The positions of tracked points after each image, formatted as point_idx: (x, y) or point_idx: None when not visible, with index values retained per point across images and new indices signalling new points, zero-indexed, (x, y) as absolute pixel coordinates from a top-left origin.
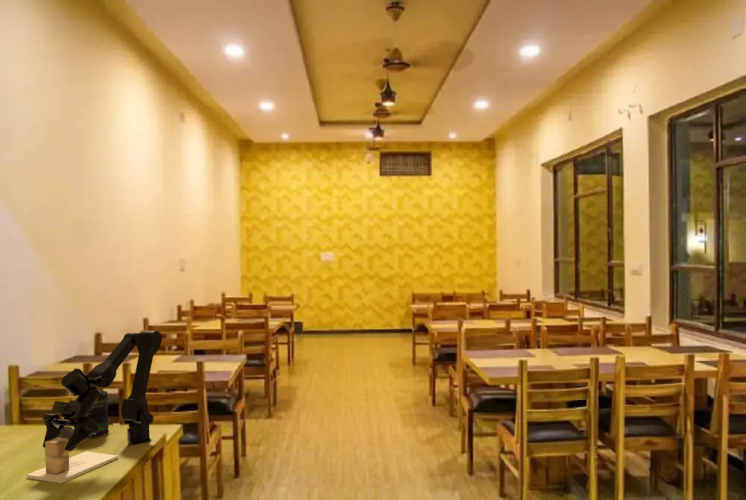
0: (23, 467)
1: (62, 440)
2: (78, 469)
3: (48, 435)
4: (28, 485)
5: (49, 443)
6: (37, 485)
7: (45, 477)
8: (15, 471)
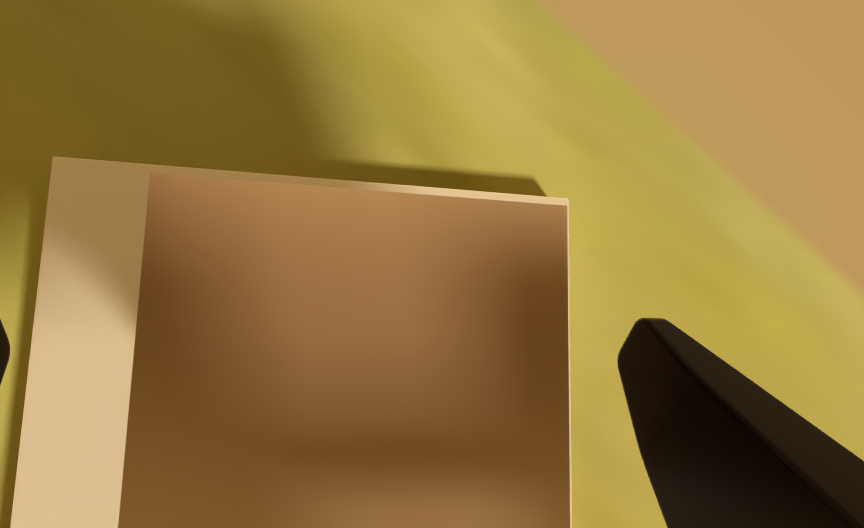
0: (813, 405)
1: (165, 451)
2: (113, 497)
3: (812, 505)
4: (375, 61)
5: (404, 200)
6: (285, 77)
7: (306, 178)
8: (787, 306)
